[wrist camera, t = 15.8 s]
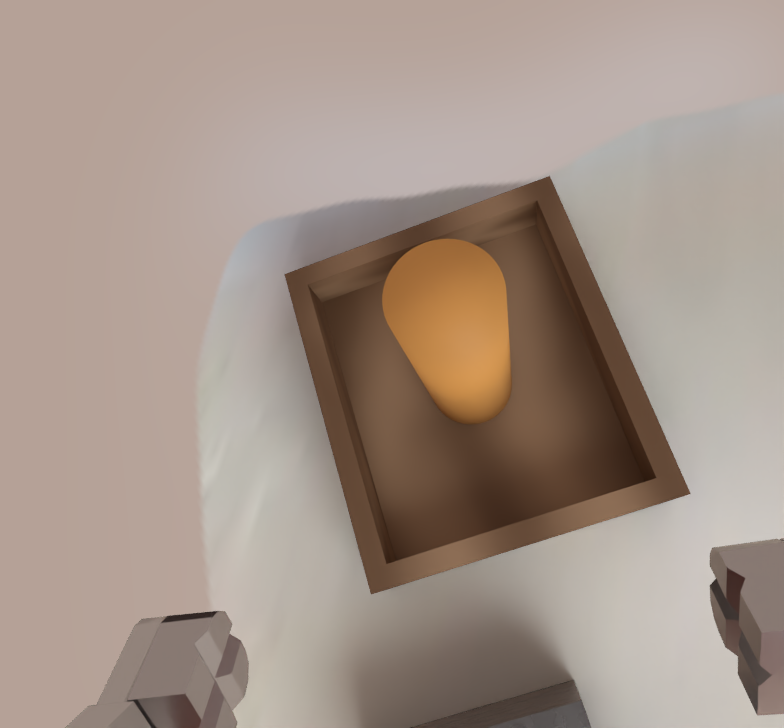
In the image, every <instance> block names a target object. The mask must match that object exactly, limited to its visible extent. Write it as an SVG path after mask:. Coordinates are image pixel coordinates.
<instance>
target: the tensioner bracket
mask: <svg viewBox="0 0 784 728" xmlns="http://www.w3.org/2000/svg"><path fill="white" fill-rule="evenodd" d="M411 728H591V726H590V723H589V720H588V717H587V714H586V711H585V709H584V706H583V703H582V700H581V697H580V695H579V692H578V690H577V687H576V685H575V682H574V680H572V681H569V682H565V683H562V684H558V685H555V686H552V687H548V688H545V689H541V690H538V691H534V692H531V693H528V694H524V695H521V696H517V697H514V698H510V699H507V700H504V701H500V702H497V703H493V704H490V705H486V706H483V707H480V708H476V709H473V710H469V711H466V712H462V713H459V714H456V715H452V716H449V717H445V718H442V719H438V720H435V721H432V722H428V723H425V724H421V725H418V726H414V727H411Z"/></svg>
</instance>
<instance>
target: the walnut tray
mask: <svg viewBox="0 0 784 728" xmlns="http://www.w3.org/2000/svg"><path fill="white" fill-rule="evenodd" d="M438 239H458V240H463V241H466V242H469V243H472V244H474V245H476V246H478V247H480V248H481V249H483V250H484V251H486V252H487V253H488V254H489V255H490V256H491V257H492V258H493V259H494V260H495V261H496V263H497V264H498V266H499V267H500V270H501V272H502V274H503V277H504V280H505V284H506V293H507V310H508V327H509V343H510V360H511V376H512V390H511V395H510V398H509V400H508V403H507V404H506V406H505V407H504V409H503V410H502V411H501V412H500V413H499V414H498V415H497V416H495V417H494V418H492V419H491V420H489V421H486V422H483V423H480V424H462V423H458V422H456V421H453V420H451V419H450V418H448V417H447V416H445V415H444V414H443V413H442V412H441V411H440V410H439V408H438V407H437V406H436V404H435V402H434V401H433V399H432V397H431V396H430V394H429V392H428V391H427V389H426V387H425V386H424V384H423V382H422V381H421V379H420V377H419V376H418V374H417V372H416V371H415V369H414V367H413V366H412V364H411V362H410V361H409V359H408V357H407V356H406V354H405V352H404V351H403V349H402V347H401V346H400V344H399V342H398V341H397V339H396V337H395V336H394V334H393V332H392V331H391V329H390V327H389V325H388V324H387V321H386V319H385V316H384V312H383V305H382V294H383V288H384V285H385V281H386V279H387V276H388V274H389V272H390V271H391V269H392V268H393V266H394V265H395V264H396V262H397V261H398V260H399V259H400V258H401V257H402V256H403V255H404V254H406V253H407V252H408V251H410V250H411V249H413V248H415V247H416V246H418V245H421V244H423V243H425V242H429V241H432V240H438ZM285 277H286V281H287V285H288V289H289V292H290V296H291V300H292V303H293V307H294V311H295V314H296V318H297V322H298V326H299V329H300V333H301V337H302V340H303V344H304V348H305V351H306V355H307V359H308V363H309V366H310V370H311V374H312V377H313V381H314V385H315V388H316V392H317V396H318V400H319V403H320V407H321V411H322V414H323V418H324V422H325V425H326V429H327V433H328V437H329V440H330V444H331V448H332V451H333V455H334V459H335V462H336V466H337V470H338V474H339V477H340V481H341V485H342V488H343V492H344V496H345V499H346V503H347V507H348V511H349V514H350V518H351V522H352V525H353V529H354V533H355V536H356V540H357V544H358V548H359V551H360V555H361V559H362V562H363V566H364V570H365V573H366V577H367V581H368V585H369V588H370V592H371V594H374V593H377V592H380V591H383V590H386V589H390V588H393V587H396V586H399V585H402V584H405V583H409V582H412V581H415V580H418V579H421V578H425V577H428V576H431V575H434V574H437V573H440V572H444V571H447V570H450V569H453V568H456V567H460V566H463V565H466V564H469V563H472V562H475V561H479V560H482V559H485V558H488V557H491V556H494V555H498V554H501V553H504V552H507V551H510V550H514V549H517V548H520V547H523V546H526V545H529V544H533V543H536V542H539V541H542V540H545V539H548V538H552V537H555V536H558V535H561V534H564V533H568V532H571V531H574V530H577V529H580V528H583V527H587V526H590V525H593V524H596V523H599V522H603V521H606V520H609V519H612V518H615V517H618V516H622V515H625V514H628V513H631V512H634V511H637V510H641V509H644V508H647V507H650V506H653V505H657V504H660V503H663V502H666V501H669V500H672V499H676V498H679V497H682V496H685V495H688V494H690V492H689V489H688V487H687V485H686V483H685V480H684V478H683V476H682V474H681V471H680V469H679V467H678V465H677V462H676V460H675V458H674V456H673V453H672V451H671V449H670V446H669V444H668V442H667V440H666V437H665V435H664V433H663V431H662V428H661V426H660V424H659V422H658V419H657V417H656V415H655V413H654V410H653V408H652V406H651V404H650V401H649V399H648V397H647V395H646V392H645V390H644V388H643V386H642V383H641V381H640V379H639V377H638V374H637V372H636V370H635V368H634V365H633V363H632V361H631V359H630V356H629V354H628V352H627V350H626V347H625V345H624V343H623V340H622V338H621V336H620V334H619V331H618V329H617V327H616V325H615V322H614V320H613V318H612V316H611V313H610V311H609V309H608V307H607V304H606V302H605V300H604V298H603V295H602V293H601V291H600V289H599V286H598V284H597V282H596V280H595V277H594V275H593V273H592V271H591V268H590V266H589V264H588V262H587V259H586V257H585V255H584V253H583V250H582V248H581V246H580V243H579V241H578V239H577V237H576V234H575V232H574V230H573V228H572V225H571V223H570V221H569V219H568V216H567V214H566V212H565V210H564V207H563V205H562V203H561V201H560V198H559V196H558V194H557V192H556V189H555V187H554V185H553V183H552V180H551V178H550V176H549V177H546V178H543V179H541V180H538V181H535V182H532V183H530V184H527V185H524V186H522V187H519V188H516V189H514V190H511V191H508V192H505V193H503V194H500V195H497V196H495V197H492V198H489V199H487V200H484V201H481V202H478V203H476V204H473V205H470V206H468V207H465V208H462V209H460V210H457V211H454V212H452V213H449V214H446V215H443V216H441V217H438V218H435V219H433V220H430V221H427V222H425V223H422V224H419V225H416V226H414V227H411V228H408V229H406V230H403V231H400V232H398V233H395V234H392V235H389V236H387V237H384V238H381V239H379V240H376V241H373V242H371V243H368V244H365V245H362V246H360V247H357V248H354V249H352V250H349V251H346V252H344V253H341V254H338V255H335V256H333V257H330V258H327V259H325V260H322V261H319V262H317V263H314V264H311V265H309V266H306V267H303V268H300V269H298V270H295V271H292V272H290V273H287V274H285Z"/></svg>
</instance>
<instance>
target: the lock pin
mask: <svg viewBox="0 0 784 728" xmlns="http://www.w3.org/2000/svg"><path fill="white" fill-rule="evenodd" d="M382 305H383V312H384V316H385V319H386V321H387V324H388V325H389V327H390V329H391V331H392V332H393V334H394V336H395V337H396V339H397V341H398V342H399V344H400V346H401V347H402V349H403V351H404V352H405V354H406V356H407V357H408V359H409V361H410V362H411V364H412V366H413V367H414V369H415V371H416V372H417V374H418V376H419V377H420V379H421V381H422V382H423V384H424V386H425V387H426V389H427V391H428V392H429V394H430V396H431V397H432V399H433V401H434V402H435V404H436V406H437V407H438V408H439V410H440V411H441V412H442V413H443V414H444V415H445V416H447V417H448V418H450V419H451V420H453V421H456V422H458V423H462V424H480V423H483V422H486V421H489V420H491V419H492V418H494V417H495V416H497V415H498V414H499V413H500V412H501V411H502V410H503V409H504V407H505V406H506V404H507V403H508V400H509V398H510V395H511V390H512V376H511V360H510V343H509V327H508V310H507V293H506V284H505V280H504V277H503V274H502V272H501V270H500V267H499V266H498V264H497V263H496V261H495V260H494V259H493V258H492V257H491V256H490V255H489V254H488V253H487V252H486V251H484V250H483V249H481V248H480V247H478V246H476V245H474V244H472V243H469V242H466V241H463V240H458V239H438V240H432V241H429V242H425V243H423V244H421V245H418V246H416V247H415V248H413V249H411V250H410V251H408V252H407V253H406V254H404V255H403V256H402V257H401V258H400V259H399V260H398V261H397V262H396V264H395V265H394V266H393V268H392V269H391V271H390V272H389V274H388V276H387V279H386V281H385V285H384V288H383V294H382Z"/></svg>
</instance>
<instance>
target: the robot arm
mask: <svg viewBox="0 0 784 728" xmlns="http://www.w3.org/2000/svg"><path fill="white" fill-rule="evenodd" d="M710 567H711V569H712V571H713V573H714V575H715V577H716V579H715V580H714V582H713V583H712V584H711V585H710V601H711V606H712V611H713V616H714V620H715V622H716V625H717V628H718V631H719V634H720V636H721V638H722V640H723V643H724V645H725V647H726V648H727V649H729V650H730V651H731V652H733V653H734V654H736V655H737V656H738V675H739V677H740V679H741V682H742V684H743V686H744V688H745V690H746V692H747V694H748V696H749V699H750V701H751V703H752V705H753V707H754V709H755V711H756V713H757V715H771V714H784V538H782V539H780V540H779V539H772V540H765V541H757V542H750V543H743V544H736V545H728V546H721V547H714V548H712V550H711V552H710ZM231 627H232V622H231V621H230V619H229V617H228V615H227V614H226V612H225V611H213V612H204V613H193V614H183V615H173V616H166V617H157V618H147V619H142V620H140V621H139V622H138V623H137V624H136V625H135V626H134V628H133V630H132V632H131V634H130V636H129V638H128V640H127V642H126V644H125V647H124V649H123V651H122V653H121V655H120V657H119V659H118V661H117V663H116V665H115V667H114V670H113V671H112V674H111V676H110V678H109V680H108V682H107V684H106V686H105V688H104V690H103V692H102V694H101V696H100V699H99V701H98V703H97V705H91V706H88V707H87V708H86V709H85V710H84V711H83V712H81V713H80V714H79V715H78V716H77V717H76V718H75V719H74V720H73V721H72V722H71V723H70V724H69V725H67V726H66V727H65V728H236V726H237V720H236V718H235V716H234V713H233V711H232V710H233V709H234V708H235V707H236V706H237V705H238V704H239V703H240V701H241V700H242V699H243V698H244V696H245V692H246V688H247V684H248V668H249V663H248V658H247V654H246V650H245V648H244V646H243V644H242V642H241V641H240V640H239V639H237V638H235V637H234V636H232V635H231V634H229V633H230V630H231Z"/></svg>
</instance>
